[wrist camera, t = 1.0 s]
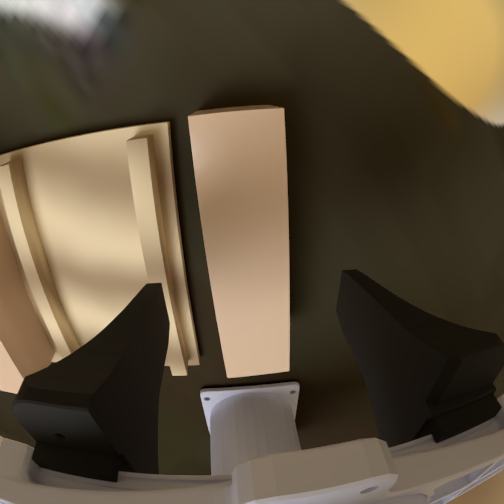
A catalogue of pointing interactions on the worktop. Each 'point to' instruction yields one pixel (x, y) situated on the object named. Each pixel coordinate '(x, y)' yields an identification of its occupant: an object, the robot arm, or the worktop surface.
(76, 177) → the rack
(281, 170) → the clay bar
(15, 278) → the clay bar
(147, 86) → the worktop surface
